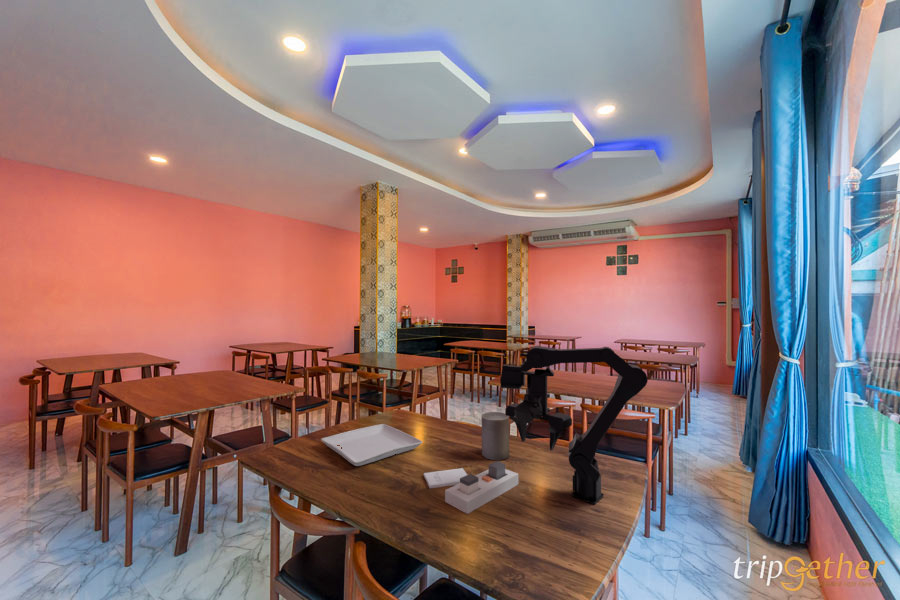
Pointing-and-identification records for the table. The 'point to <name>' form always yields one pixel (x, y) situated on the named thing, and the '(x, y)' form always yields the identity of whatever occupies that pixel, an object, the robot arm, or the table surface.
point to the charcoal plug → (496, 470)
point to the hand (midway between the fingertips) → (537, 445)
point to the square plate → (371, 443)
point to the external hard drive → (444, 477)
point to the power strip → (481, 491)
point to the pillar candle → (495, 435)
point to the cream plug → (469, 484)
